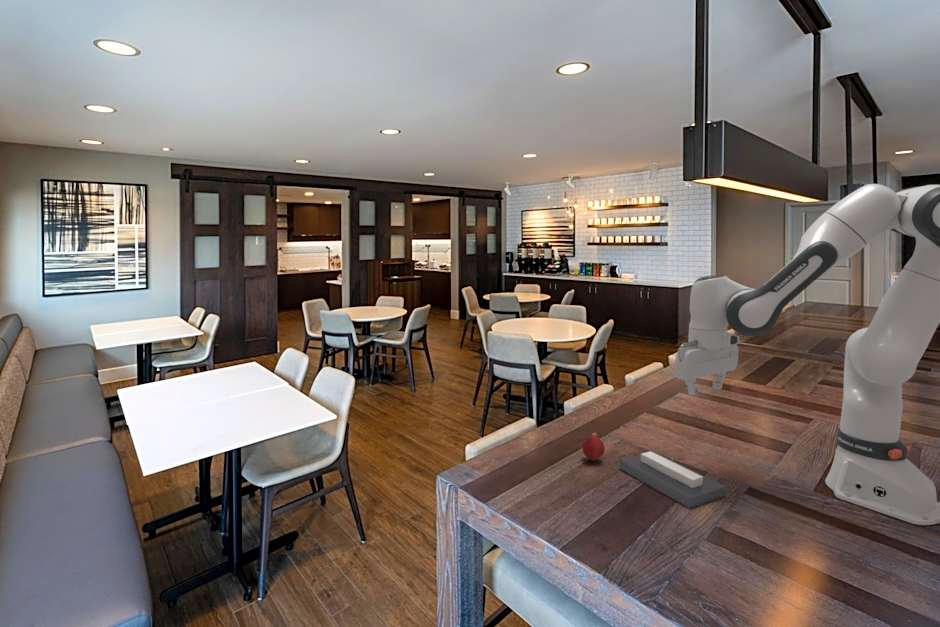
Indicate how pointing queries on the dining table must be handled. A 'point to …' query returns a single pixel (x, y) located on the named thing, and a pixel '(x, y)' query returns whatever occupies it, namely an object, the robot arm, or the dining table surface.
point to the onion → (593, 447)
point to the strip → (672, 469)
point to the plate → (673, 483)
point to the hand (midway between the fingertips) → (705, 391)
